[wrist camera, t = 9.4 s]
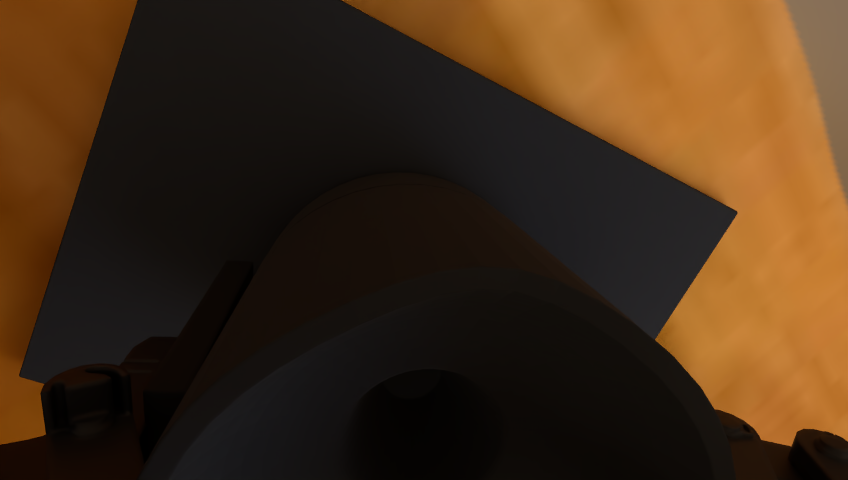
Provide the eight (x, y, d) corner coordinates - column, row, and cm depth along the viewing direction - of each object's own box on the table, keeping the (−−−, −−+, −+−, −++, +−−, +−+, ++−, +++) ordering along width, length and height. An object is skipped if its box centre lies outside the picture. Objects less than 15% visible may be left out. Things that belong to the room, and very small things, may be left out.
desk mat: (28, 367, 18) (17, 377, 17) (173, -88, 14) (166, -94, 13) (528, 514, 23) (533, 526, 22) (727, 207, 19) (739, 212, 19)
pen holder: (433, 92, 15) (557, 140, 6) (581, 317, 19) (816, 580, 9) (186, 273, 16) (-44, 563, 7) (368, 460, 19) (381, 835, 10)
